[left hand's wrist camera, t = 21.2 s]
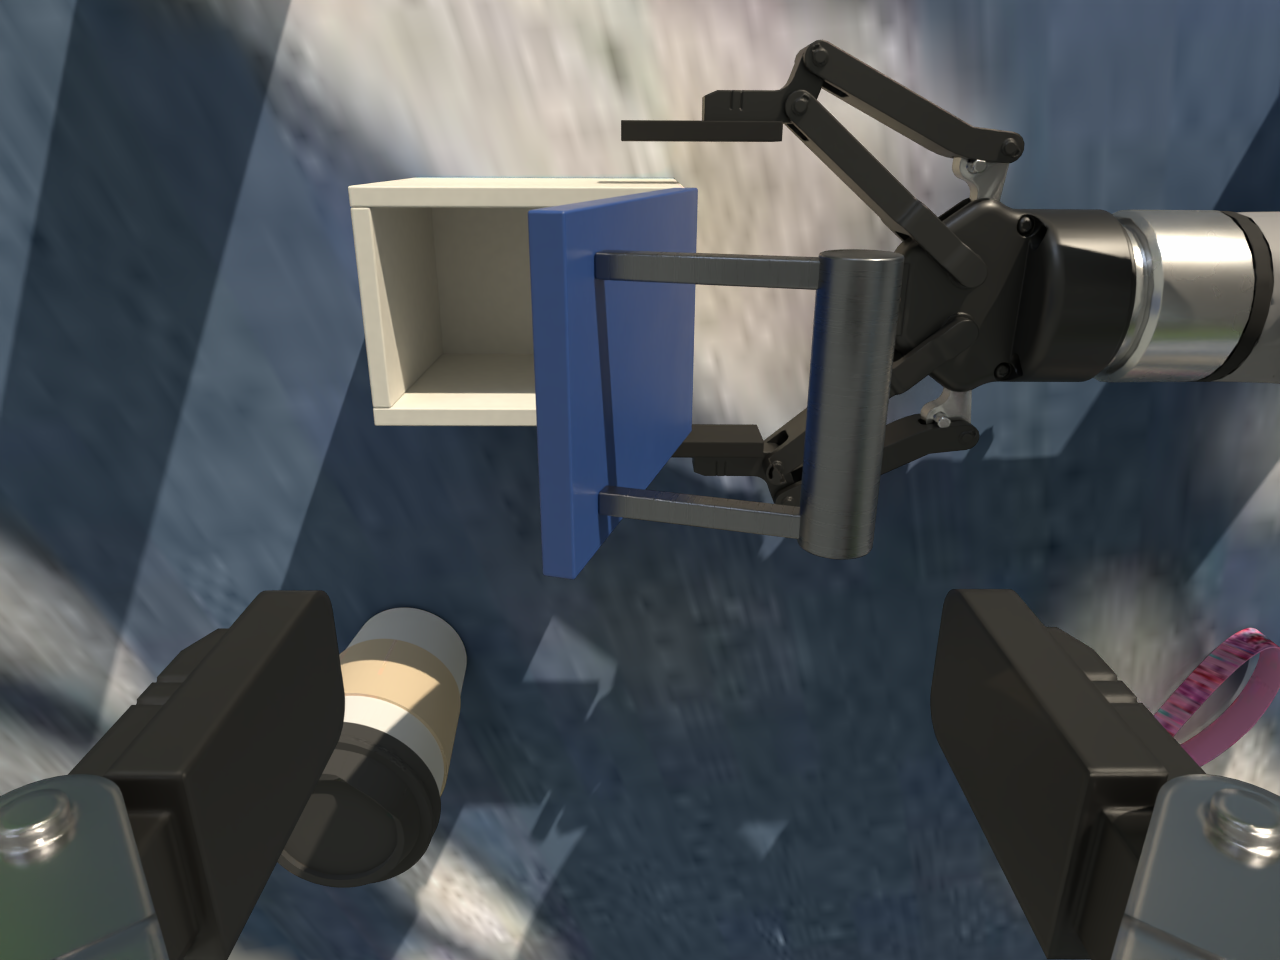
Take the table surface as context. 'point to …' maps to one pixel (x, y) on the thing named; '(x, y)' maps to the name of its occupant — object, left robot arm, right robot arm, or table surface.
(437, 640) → the coffee cup
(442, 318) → the chest
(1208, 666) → the headband
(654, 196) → the lid
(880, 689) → the table surface
